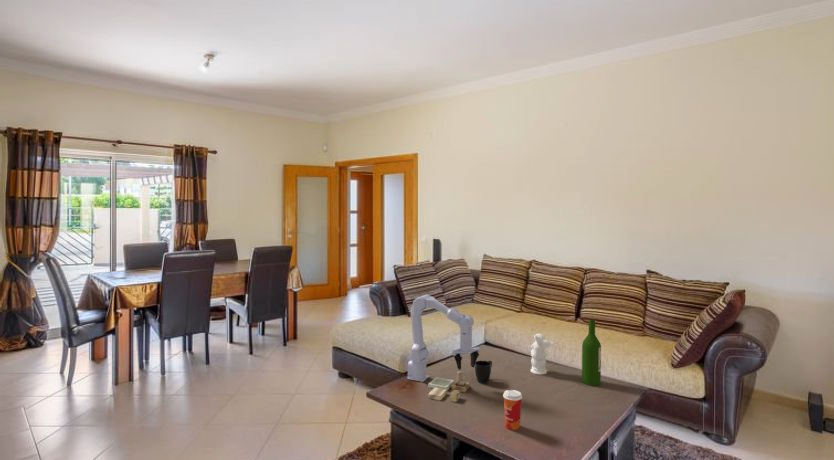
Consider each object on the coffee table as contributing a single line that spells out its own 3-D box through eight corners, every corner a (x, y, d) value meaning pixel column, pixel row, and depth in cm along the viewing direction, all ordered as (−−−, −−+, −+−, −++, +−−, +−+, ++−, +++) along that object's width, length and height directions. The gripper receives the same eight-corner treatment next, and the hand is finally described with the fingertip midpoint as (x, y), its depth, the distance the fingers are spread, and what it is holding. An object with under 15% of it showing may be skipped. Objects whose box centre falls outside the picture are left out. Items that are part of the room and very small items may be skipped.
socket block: (451, 389, 211) (451, 385, 211) (456, 384, 217) (456, 380, 217) (465, 392, 208) (465, 388, 208) (469, 386, 214) (469, 383, 214)
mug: (498, 379, 224) (498, 361, 224) (485, 385, 215) (485, 367, 215) (484, 375, 230) (484, 357, 229) (471, 381, 221) (471, 363, 221)
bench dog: (450, 401, 198) (450, 393, 198) (454, 396, 203) (454, 389, 203) (456, 402, 197) (456, 394, 197) (460, 398, 202) (460, 390, 201)
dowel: (456, 389, 212) (456, 373, 211) (458, 386, 215) (458, 370, 215) (462, 390, 210) (462, 374, 210) (465, 387, 213) (465, 371, 213)
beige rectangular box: (428, 399, 202) (428, 393, 201) (434, 392, 209) (434, 387, 209) (440, 401, 199) (440, 396, 199) (446, 394, 206) (446, 389, 206)
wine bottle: (601, 387, 213) (602, 322, 212) (582, 384, 216) (582, 321, 215) (599, 380, 222) (600, 318, 221) (581, 378, 225) (582, 317, 223)
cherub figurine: (534, 367, 241) (535, 328, 240) (556, 372, 234) (557, 332, 233) (526, 373, 231) (527, 333, 230) (549, 379, 224) (549, 337, 223)
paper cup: (500, 422, 178) (500, 389, 177) (518, 421, 179) (518, 388, 178) (506, 432, 170) (506, 397, 170) (524, 431, 171) (525, 396, 170)
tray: (428, 387, 214) (428, 384, 214) (435, 380, 223) (435, 377, 223) (446, 391, 209) (446, 387, 209) (454, 383, 218) (454, 380, 218)
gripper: (457, 344, 206) (456, 372, 206) (483, 341, 211) (482, 368, 212) (450, 340, 212) (450, 367, 213) (475, 337, 218) (475, 363, 218)
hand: (465, 367), depth 213 cm, fingers open, 7 cm apart
